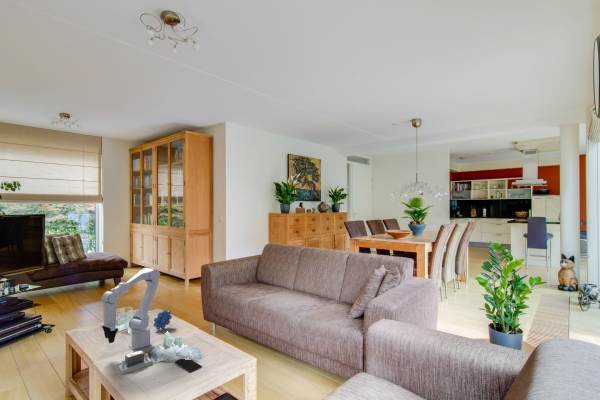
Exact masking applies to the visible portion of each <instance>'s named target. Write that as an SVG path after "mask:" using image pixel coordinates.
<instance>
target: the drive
mask: <svg viewBox="0 0 600 400" xmlns="http://www.w3.org/2000/svg"><path fill="white" fill-rule="evenodd" d="M145 354H146V353H145V352H144V350H138V351H135V352H131V353H128V354H126V355H125V356H124V361H125V365H126V367H127V368H128V367H131V366H134V365H137V364H140V363H144V356H145Z"/></svg>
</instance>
